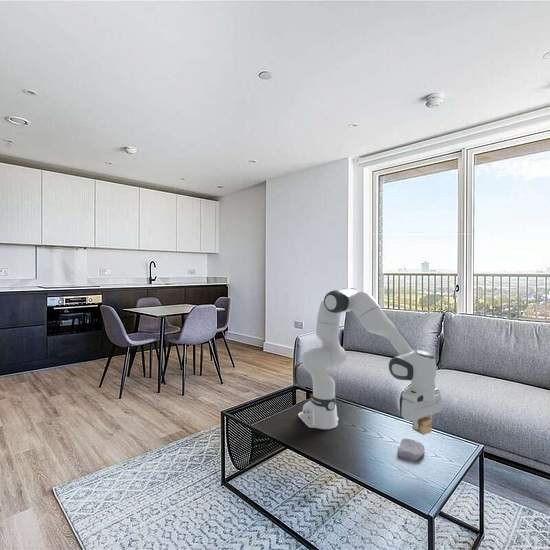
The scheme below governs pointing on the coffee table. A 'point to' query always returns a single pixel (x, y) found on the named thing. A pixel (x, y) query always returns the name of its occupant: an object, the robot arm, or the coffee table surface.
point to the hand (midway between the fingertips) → (421, 426)
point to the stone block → (410, 449)
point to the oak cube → (424, 425)
